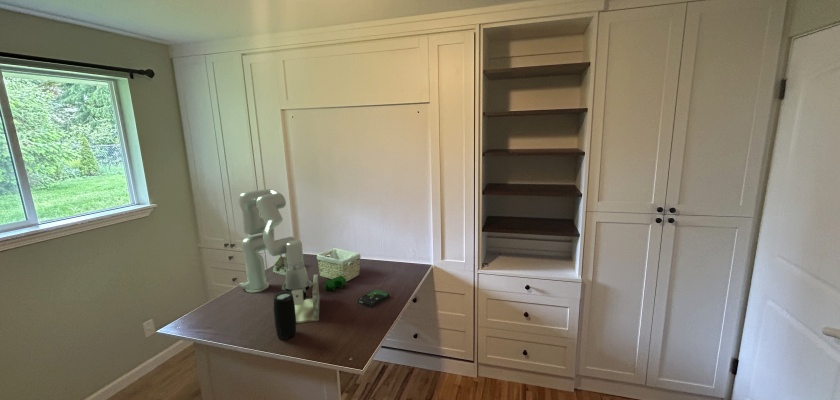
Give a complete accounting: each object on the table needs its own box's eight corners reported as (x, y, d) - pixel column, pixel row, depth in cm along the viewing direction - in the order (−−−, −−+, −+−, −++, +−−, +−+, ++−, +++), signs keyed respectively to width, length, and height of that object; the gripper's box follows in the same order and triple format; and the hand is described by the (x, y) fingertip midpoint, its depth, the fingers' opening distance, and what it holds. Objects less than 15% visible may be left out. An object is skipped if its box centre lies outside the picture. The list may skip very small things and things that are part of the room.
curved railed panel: (276, 326, 157) (273, 297, 154) (282, 304, 178) (279, 278, 175) (318, 320, 162) (316, 292, 159) (319, 299, 183) (317, 274, 180)
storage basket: (316, 276, 213) (315, 254, 211) (335, 267, 227) (334, 246, 224) (344, 284, 201) (343, 261, 198) (362, 275, 215) (361, 253, 212)
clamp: (332, 298, 193) (327, 288, 187) (326, 293, 197) (322, 283, 191) (349, 285, 199) (345, 275, 193) (343, 280, 202) (339, 270, 197)
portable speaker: (288, 327, 156) (285, 288, 152) (301, 333, 151) (298, 293, 147) (271, 336, 149) (267, 296, 145) (285, 343, 144) (281, 301, 140)
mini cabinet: (292, 306, 163) (291, 293, 162) (294, 297, 172) (293, 284, 171) (303, 305, 164) (302, 291, 163) (304, 295, 174) (303, 283, 172)
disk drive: (371, 309, 173) (390, 297, 185) (370, 304, 172) (389, 293, 184) (357, 303, 179) (376, 292, 191) (356, 298, 178) (376, 288, 190)
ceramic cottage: (274, 267, 228) (272, 246, 225) (299, 265, 233) (298, 245, 229) (270, 277, 214) (268, 256, 210) (297, 275, 218) (296, 254, 214)
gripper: (276, 270, 160) (279, 305, 163) (313, 266, 164) (316, 300, 167) (278, 264, 167) (281, 298, 170) (313, 260, 171) (316, 293, 174)
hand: (298, 299), depth 169 cm, fingers closed on mini cabinet, 5 cm apart
